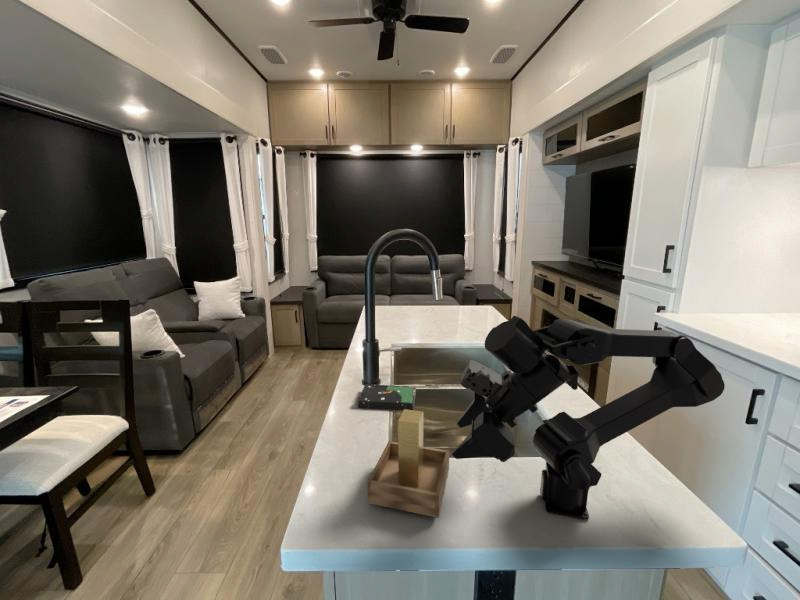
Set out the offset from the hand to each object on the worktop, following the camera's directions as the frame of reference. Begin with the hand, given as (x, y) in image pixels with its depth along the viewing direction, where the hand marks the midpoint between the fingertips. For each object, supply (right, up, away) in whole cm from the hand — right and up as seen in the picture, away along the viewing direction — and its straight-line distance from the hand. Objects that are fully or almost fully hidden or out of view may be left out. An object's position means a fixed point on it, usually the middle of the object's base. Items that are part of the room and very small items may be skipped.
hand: (456, 439), depth 61 cm
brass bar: (-8, -8, +3) cm, 11 cm away
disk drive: (-13, -4, +37) cm, 39 cm away
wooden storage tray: (-8, -10, +3) cm, 13 cm away
